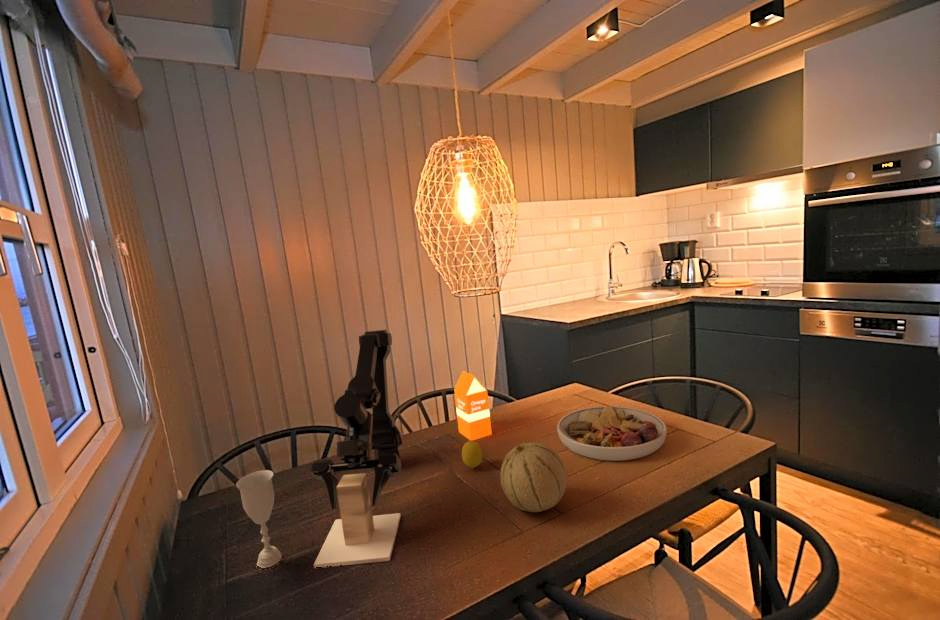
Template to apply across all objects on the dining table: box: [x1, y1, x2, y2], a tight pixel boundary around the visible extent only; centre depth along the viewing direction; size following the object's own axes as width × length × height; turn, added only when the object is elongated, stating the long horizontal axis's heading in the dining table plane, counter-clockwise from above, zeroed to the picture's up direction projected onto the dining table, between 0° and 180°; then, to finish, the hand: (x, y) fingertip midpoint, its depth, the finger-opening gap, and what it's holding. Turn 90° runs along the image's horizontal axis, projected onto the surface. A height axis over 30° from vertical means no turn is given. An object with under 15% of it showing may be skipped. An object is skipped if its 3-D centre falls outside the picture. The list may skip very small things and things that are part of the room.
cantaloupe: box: [500, 441, 568, 513], centre depth 102 cm, size 15×15×15 cm
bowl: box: [556, 405, 667, 462], centre depth 131 cm, size 30×30×8 cm
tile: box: [313, 512, 401, 569], centre depth 97 cm, size 15×15×1 cm
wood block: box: [336, 472, 374, 545], centre depth 96 cm, size 5×5×13 cm
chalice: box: [235, 469, 283, 568], centre depth 92 cm, size 7×7×18 cm
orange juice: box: [453, 370, 493, 441], centre depth 145 cm, size 8×9×20 cm
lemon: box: [461, 439, 483, 469], centre depth 123 cm, size 6×6×8 cm
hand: (353, 507), depth 95 cm, fingers open, 8 cm apart
